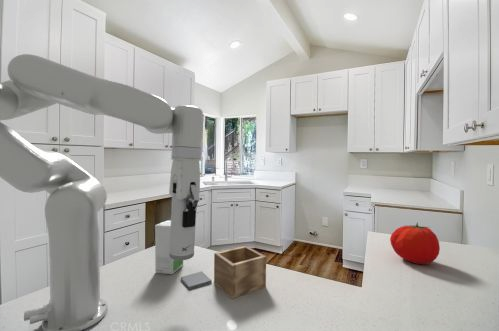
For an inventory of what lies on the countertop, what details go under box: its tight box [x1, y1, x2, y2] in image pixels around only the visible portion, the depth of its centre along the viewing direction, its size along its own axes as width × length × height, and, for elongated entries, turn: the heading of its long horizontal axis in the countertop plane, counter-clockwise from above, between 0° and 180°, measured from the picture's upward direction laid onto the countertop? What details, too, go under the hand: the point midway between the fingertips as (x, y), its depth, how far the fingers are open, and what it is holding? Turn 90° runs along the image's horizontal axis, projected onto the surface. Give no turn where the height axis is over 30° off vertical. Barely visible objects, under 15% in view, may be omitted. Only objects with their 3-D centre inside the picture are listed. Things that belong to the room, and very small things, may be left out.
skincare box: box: [154, 219, 184, 275], centre depth 85 cm, size 8×7×16 cm
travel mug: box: [169, 183, 197, 261], centre depth 66 cm, size 6×7×20 cm
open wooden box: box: [213, 245, 267, 299], centre depth 75 cm, size 12×10×9 cm
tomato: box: [389, 222, 441, 265], centre depth 94 cm, size 16×14×14 cm
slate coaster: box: [180, 271, 212, 290], centre depth 77 cm, size 7×7×1 cm
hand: (183, 222), depth 66 cm, fingers closed on travel mug, 6 cm apart
